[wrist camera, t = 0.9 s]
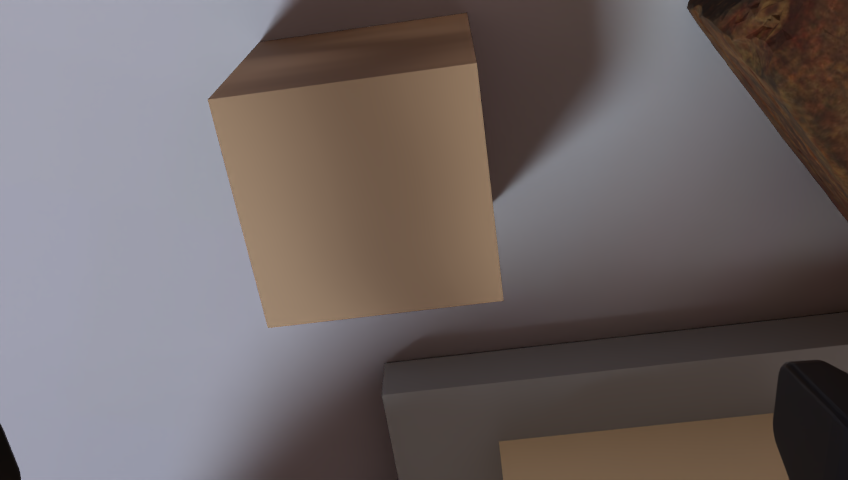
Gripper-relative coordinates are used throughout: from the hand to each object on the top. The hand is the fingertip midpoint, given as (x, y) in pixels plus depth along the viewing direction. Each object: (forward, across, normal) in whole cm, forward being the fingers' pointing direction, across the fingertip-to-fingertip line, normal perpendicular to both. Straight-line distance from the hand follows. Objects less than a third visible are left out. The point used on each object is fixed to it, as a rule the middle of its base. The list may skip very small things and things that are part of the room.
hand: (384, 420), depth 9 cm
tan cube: (+12, +1, 0) cm, 12 cm away
